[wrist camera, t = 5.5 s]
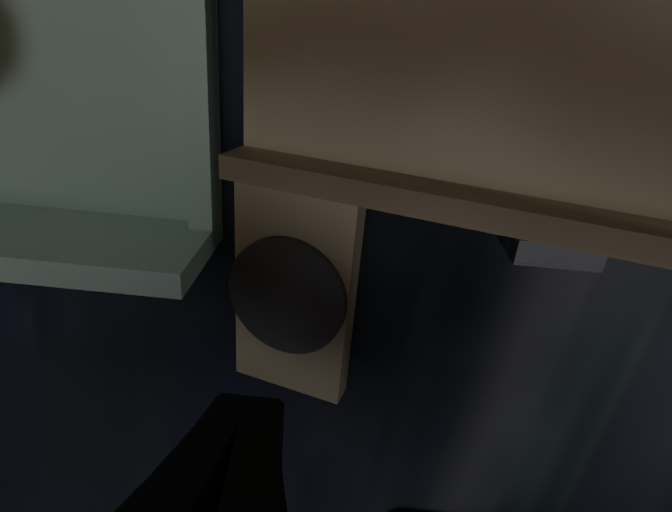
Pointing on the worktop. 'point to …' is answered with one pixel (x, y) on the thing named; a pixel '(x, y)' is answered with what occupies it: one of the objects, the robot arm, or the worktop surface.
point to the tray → (109, 144)
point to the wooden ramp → (435, 148)
